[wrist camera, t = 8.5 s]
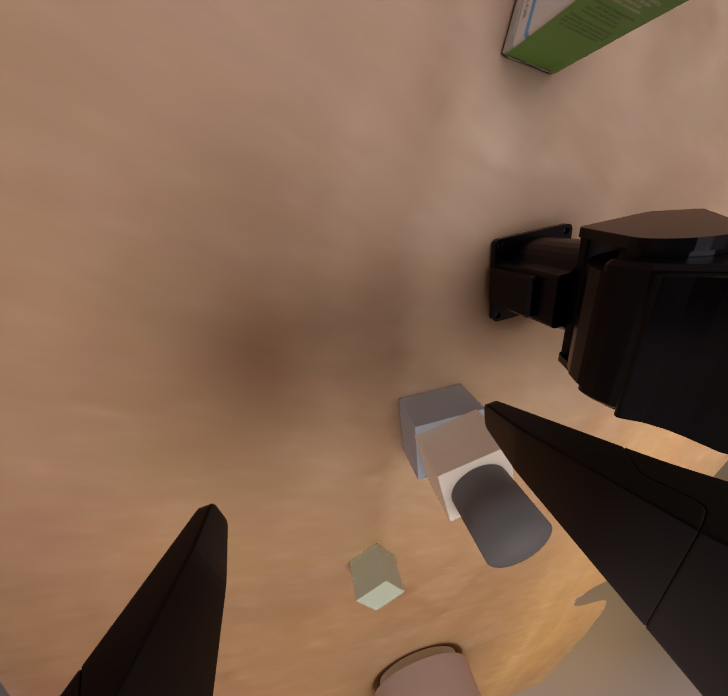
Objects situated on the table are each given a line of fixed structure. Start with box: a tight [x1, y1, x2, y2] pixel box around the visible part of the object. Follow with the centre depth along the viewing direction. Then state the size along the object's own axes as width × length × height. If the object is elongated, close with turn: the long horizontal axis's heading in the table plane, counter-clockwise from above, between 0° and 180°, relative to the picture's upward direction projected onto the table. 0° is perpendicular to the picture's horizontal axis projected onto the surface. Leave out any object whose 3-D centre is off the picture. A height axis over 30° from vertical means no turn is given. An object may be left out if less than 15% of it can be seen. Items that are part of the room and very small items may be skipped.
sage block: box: [350, 543, 405, 610], centre depth 33 cm, size 4×4×4 cm
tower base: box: [399, 384, 484, 480], centre depth 26 cm, size 6×6×4 cm
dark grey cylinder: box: [451, 464, 552, 568], centre depth 19 cm, size 4×4×4 cm
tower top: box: [415, 409, 514, 521], centre depth 22 cm, size 5×5×4 cm
